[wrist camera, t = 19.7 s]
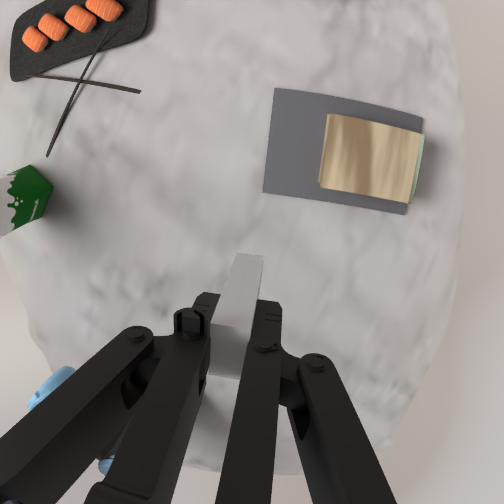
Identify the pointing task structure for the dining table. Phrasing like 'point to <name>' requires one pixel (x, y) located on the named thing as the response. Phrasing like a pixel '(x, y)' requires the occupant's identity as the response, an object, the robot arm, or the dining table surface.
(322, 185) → the oak slab
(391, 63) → the dining table surface
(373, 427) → the dining table surface
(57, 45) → the sushi plate
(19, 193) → the milk carton
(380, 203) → the rubber mat
